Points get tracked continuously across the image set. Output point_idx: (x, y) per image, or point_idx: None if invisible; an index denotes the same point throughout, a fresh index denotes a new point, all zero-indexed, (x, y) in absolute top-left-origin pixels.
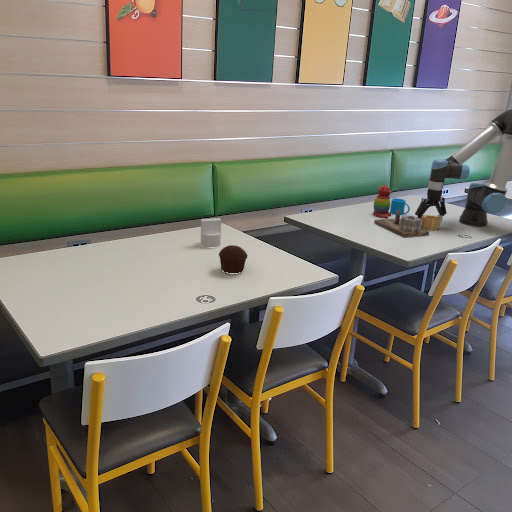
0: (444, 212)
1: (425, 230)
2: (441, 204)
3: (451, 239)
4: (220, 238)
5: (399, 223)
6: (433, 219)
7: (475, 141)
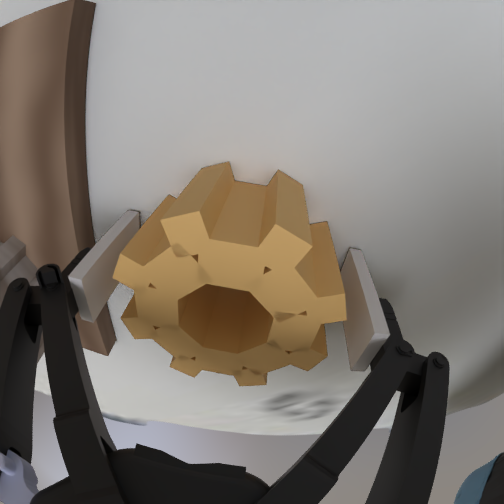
0: (401, 397)
1: (97, 337)
2: (389, 481)
3: (196, 402)
4: None
5: (2, 161)
6: (186, 371)
7: None
